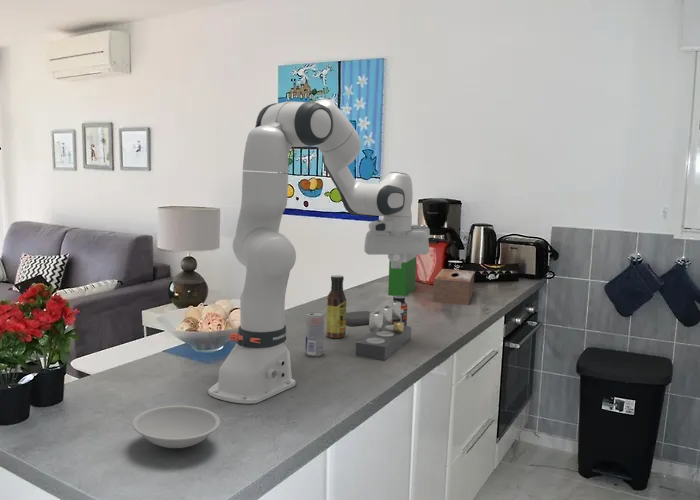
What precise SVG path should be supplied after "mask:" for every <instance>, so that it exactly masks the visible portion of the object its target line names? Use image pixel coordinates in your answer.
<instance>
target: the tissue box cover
mask: <svg viewBox="0 0 700 500" xmlns="http://www.w3.org/2000/svg"><path fill="white" fill-rule="evenodd" d="M474 284H475V270H462V269H450V268H441V270H440V271H439V272H438V273H437V275H436V276H435V277H434V278H433V292H432V294H433V295H432V303H439V304H440V303H441V304H450V305H451V304H452V305H462V306H469V304H470V302H471V300H472V297H473V295H472V294H474V287H475V285H474ZM470 299H471V300H470Z"/></svg>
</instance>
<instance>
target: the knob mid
mask: <svg viewBox="0 0 700 500" xmlns="http://www.w3.org/2000/svg"><path fill="white" fill-rule="evenodd" d="M378 311H379V312H381V313H383V325H385V326H387V325H392V307H389V306H388V305H386V306H385V305H383V306H379V308H378Z"/></svg>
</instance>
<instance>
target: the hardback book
mask: <svg viewBox="0 0 700 500" xmlns="http://www.w3.org/2000/svg"><path fill="white" fill-rule="evenodd" d="M392 260H393V262H399V260H400V257H399V255H394V257H393V258H392ZM416 269H417V255H405V259H404V261H403V262H402V263H401V269H392V268H391V262H390V260H389V263H388V288H387V289H388V293H387V294H388V296H390V297H393V296H404V297H405V298H406V297H407V296H408V295H410V294H411V293H412V292H414V291H415V290H416V278H417V277H416V275H417V274H416V273H417V272H416V271H417V270H416Z"/></svg>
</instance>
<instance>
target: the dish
mask: <svg viewBox="0 0 700 500" xmlns="http://www.w3.org/2000/svg"><path fill="white" fill-rule="evenodd" d="M220 425H221V420H220V417H219V416H218V415H217V414H216V413H214V412H213V411H211V410H209V409H206V408H203V407H199V406H193V405H179V404H178V405H165V406H159V407H154V408H150V409H148V410H145V411H142V412H140V413H139V414H137V415H136V416H135V417H134V418H133V420H132V428H133V430H134V431H135V432H136V433H138V434H140V435H141V436H142V437H144V439H146V440H147V441H149V443H152V444H153V445H154V444H155V445H157V446H158V447H159V446H160V447H161V448H167V449H183V448H184V449H185V448H189V447H192V446H195V445H197V444H199V443H201V442H203V441H204V440H205V439H207V438H208V437H209V436H210V435H211V434H212V433H214V432H216V431H217V430H218V429H219V427H220Z"/></svg>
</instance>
